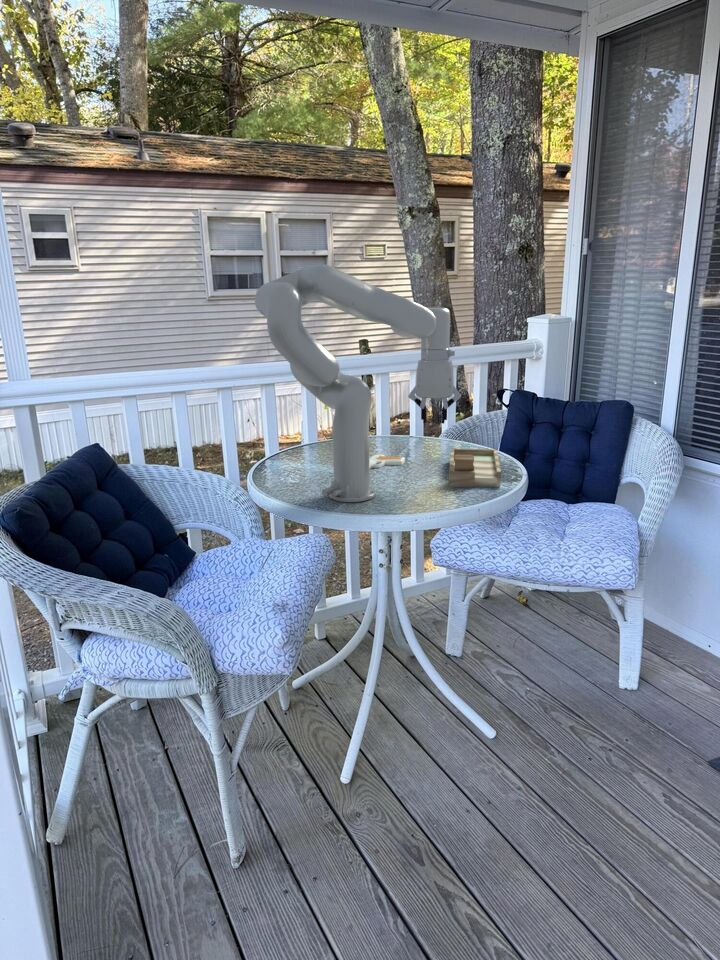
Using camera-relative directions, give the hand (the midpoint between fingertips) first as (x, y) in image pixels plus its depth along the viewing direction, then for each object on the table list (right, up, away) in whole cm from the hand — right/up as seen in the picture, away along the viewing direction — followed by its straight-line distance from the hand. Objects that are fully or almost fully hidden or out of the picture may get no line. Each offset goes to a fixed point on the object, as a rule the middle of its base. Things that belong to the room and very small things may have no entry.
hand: (434, 421), depth 176 cm
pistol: (-14, -13, +21) cm, 28 cm away
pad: (+17, -12, +20) cm, 29 cm away
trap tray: (+13, -14, +12) cm, 23 cm away
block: (+9, -14, +3) cm, 17 cm away
